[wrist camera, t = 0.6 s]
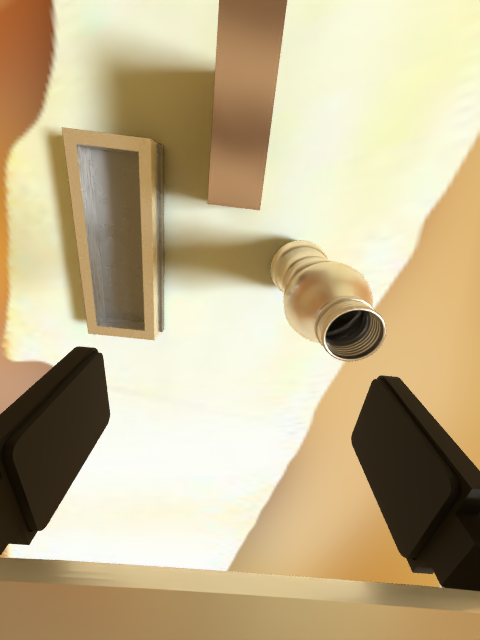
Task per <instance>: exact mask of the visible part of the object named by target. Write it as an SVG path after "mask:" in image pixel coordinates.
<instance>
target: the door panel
mask: <svg viewBox="0 0 480 640" xmlns="http://www.w3.org/2000/svg"><path fill="white" fill-rule="evenodd" d="M286 5H287V0H219V14H218V31H217V49H216V66H215V83H214V101H213V118H212V136H211V153H210V171H209V188H208V204H212V205H221V206H229V207H237V208H246V209H254V210H260V205H261V198H262V190H263V182H264V174H265V167H266V159H267V151H268V144H269V136H270V128H271V121H272V113H273V105H274V97H275V90H276V82H277V74H278V67H279V59H280V51H281V43H282V36H283V28H284V20H285V13H286Z"/></svg>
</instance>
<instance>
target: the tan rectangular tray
mask: <svg viewBox="0 0 480 640" xmlns="http://www.w3.org/2000/svg"><path fill="white" fill-rule="evenodd" d="M62 132H63V140H64V147H65V155H66V163H67V171H68V179H69V187H70V194H71V202H72V210H73V218H74V226H75V233H76V241H77V249H78V257H79V265H80V272H81V280H82V288H83V296H84V304H85V311H86V319H87V327H88V333H89V334H99V335H109V336H119V337H129V338H138V339H148V340H155V339H156V337H157V335H158V334H159V332H162V331H163V330H164V146H163V145H161V144H158V143H156V142H155V141H153V140H152V139H149V138H141V137H133V136H125V135H118V134H110V133H102V132H94V131H86V130H78V129H71V128H63V127H62Z"/></svg>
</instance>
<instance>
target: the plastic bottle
mask: <svg viewBox="0 0 480 640" xmlns="http://www.w3.org/2000/svg"><path fill="white" fill-rule="evenodd" d="M270 272H271V277H272V280H273V282H274V284H275V285H276V286H277V287H278V288H279V289H280V290H281V291H282V292H283V293H284V310H285V315H286V318H287V321H288V322H289V324H290V326H291V327H292V328H293V329H294V330H295V331H296V332H297V333H298V334H300V335H301V336H303V337H304V338H306V339H308V340H310V341H313V342H317V343H321V345H323V347H324V348H325V350H326V351H327V352H328V353H329V354H330V355H331V356H333V357H334V358H336V359H339V360H342V361H357V360H361V359H364V358H366V357H368V356H370V355H372V354H373V353H374V352H376V351H377V350H378V349H379V348H380V346H381V345H382V343H383V342H384V339H385V336H386V325H385V323H384V320H383V318H382V317H381V316H380V314H378V313H377V312H376V311H375V310H374V308H373V307H372V305H373V298H372V293H371V290H370V287H369V285H368V282H367V281H366V279H365V278H364V276H363V275H362V274H360V273H359V272H358V271H357V270H355V269H353V268H352V267H350V266H347V265H345V264H341V263H338V262H333V261H329V260H328V259H327V256H326V255H325V253H324V252H323V250H322V249H321V248H320V247H319V246H318V245H316V244H314V243H312V242H309V241H302V240H300V241H293V242H290V243H287V244H285V245H284V246H282V247H281V248H280V249H279V250H278V251H277V252H276V254H275V255H274V257H273V260H272V262H271V268H270Z"/></svg>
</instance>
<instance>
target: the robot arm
mask: <svg viewBox="0 0 480 640" xmlns="http://www.w3.org/2000/svg"><path fill="white" fill-rule="evenodd" d="M109 418H110V409H109V401H108V393H107V385H106V377H105V369H104V360H103V355H102V353H98V350H97V349H96V348H89V347H76V348H74V349H73V350H72V351H71V352H70V353H68V354H67V355H66V356H65V357H64V358H63V359H62V360H61V361H60V362H58V363H57V364H56V365H55V366H54V367H53V368H52V369H51V370H50V371H48V372H47V373H46V374H45V375H44V376H43V377H42V378H41V379H40V380H38V381H37V382H36V383H35V384H34V385H33V386H32V387H31V388H29V389H28V390H27V391H26V392H25V393H24V394H23V395H21V396H20V397H19V398H18V399H17V400H16V401H15V402H14V403H13V404H12V405H10V406H9V407H8V408H7V409H6V410H5V411H4V412H3V413H1V414H0V555H1V554H2V552H3V551H4V550H5V548H6V547H7V545H8V544H22V545H29V544H30V543H31V541H32V539H33V538H34V536H35V535H36V533H37V531H41V530H43V529H44V528H45V527H46V526H47V524H48V523H49V521H50V519H51V518H52V516H53V514H54V513H55V511H56V509H57V508H58V506H59V504H60V503H61V501H62V499H63V498H64V496H65V494H66V493H67V491H68V489H69V488H70V486H71V484H72V483H73V481H74V479H75V478H76V476H77V474H78V473H79V471H80V469H81V468H82V466H83V464H84V463H85V461H86V459H87V458H88V456H89V454H90V453H91V451H92V449H93V448H94V446H95V444H96V443H97V441H98V439H99V438H100V436H101V434H102V433H103V431H104V429H105V428H106V426H107V424H108V422H109ZM351 440H352V445H353V448H354V450H355V452H356V455H357V457H358V459H359V462H360V464H361V466H362V468H363V470H364V473H365V475H366V477H367V480H368V482H369V484H370V487H371V489H372V491H373V494H374V496H375V498H376V500H377V502H378V505H379V507H380V509H381V512H382V514H383V516H384V518H385V521H386V523H387V525H388V528H389V530H390V532H391V534H392V537H393V539H394V541H395V544H396V546H397V548H398V550H399V552H400V553H401V555H402V556H403V557H405V558H406V559H407V561H408V563H409V565H410V567H411V570H412V572H414V573H428V574H433V573H435V575H436V577H437V579H438V581H439V583H440V585H439V587H430V586H419V585H406V584H393V583H380V582H366V581H353V580H340V579H327V578H314V577H300V576H285V575H272V574H258V573H244V572H230V571H215V570H201V569H186V568H172V567H156V566H141V565H125V564H110V563H94V562H79V561H63V560H43V559H20V558H0V640H480V471H479V470H478V468H477V467H476V466H475V465H474V464H473V463H472V461H471V460H470V459H469V458H468V457H467V456H466V455H465V453H464V452H463V451H462V450H461V449H460V448H459V446H458V445H457V444H456V443H455V442H454V441H453V439H452V438H451V437H450V436H449V435H448V434H447V432H446V431H445V430H444V429H443V428H442V427H441V426H440V424H439V423H438V422H437V421H436V420H435V419H434V417H433V416H432V415H431V414H430V413H429V412H428V411H427V409H426V408H425V407H424V406H423V405H422V403H421V402H420V401H419V400H418V399H417V398H416V397H415V395H414V394H413V393H412V392H411V391H410V390H409V388H408V387H407V386H406V385H405V384H404V383H403V381H401V379H400V378H398V377H392V376H379V377H378V378H377V379H374V380H373V381H372V383H371V386H370V388H369V391H368V393H367V396H366V399H365V401H364V404H363V407H362V409H361V412H360V415H359V417H358V420H357V423H356V425H355V428H354V431H353V433H352V438H351Z"/></svg>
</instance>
